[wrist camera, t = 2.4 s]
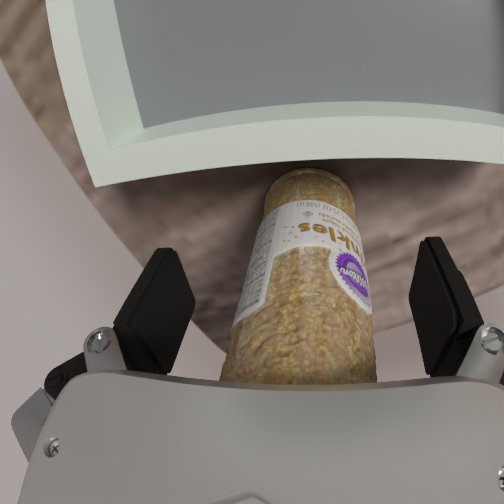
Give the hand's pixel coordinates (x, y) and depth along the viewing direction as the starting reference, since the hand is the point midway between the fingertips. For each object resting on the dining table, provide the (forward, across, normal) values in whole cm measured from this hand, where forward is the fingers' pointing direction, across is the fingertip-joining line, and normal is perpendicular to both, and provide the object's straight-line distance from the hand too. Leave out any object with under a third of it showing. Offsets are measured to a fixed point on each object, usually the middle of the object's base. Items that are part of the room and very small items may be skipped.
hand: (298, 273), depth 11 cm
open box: (+5, -2, -14) cm, 15 cm away
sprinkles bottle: (+5, 0, 0) cm, 5 cm away
